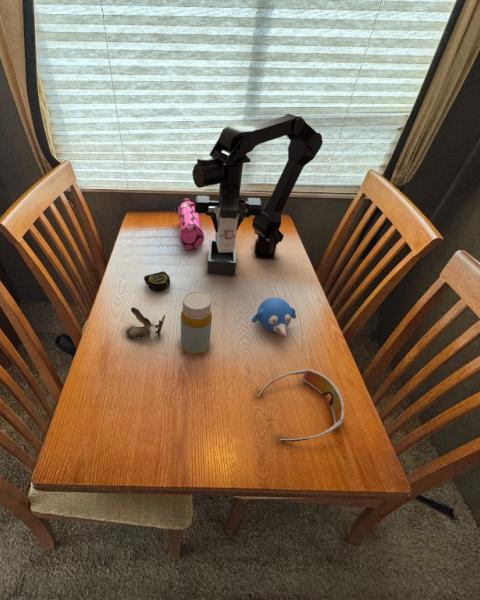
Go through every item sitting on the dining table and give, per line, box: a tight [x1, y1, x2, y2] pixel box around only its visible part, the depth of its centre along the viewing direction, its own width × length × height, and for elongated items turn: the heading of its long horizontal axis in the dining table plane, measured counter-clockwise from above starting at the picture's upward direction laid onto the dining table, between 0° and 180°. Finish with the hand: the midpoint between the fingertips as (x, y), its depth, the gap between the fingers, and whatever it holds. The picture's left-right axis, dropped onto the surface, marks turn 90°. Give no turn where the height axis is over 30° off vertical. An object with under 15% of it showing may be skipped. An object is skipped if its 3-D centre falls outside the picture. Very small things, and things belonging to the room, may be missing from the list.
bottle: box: [180, 290, 213, 356], centre depth 74 cm, size 7×7×15 cm
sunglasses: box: [257, 368, 345, 442], centre depth 66 cm, size 14×15×5 cm
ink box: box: [214, 208, 238, 252], centre depth 96 cm, size 9×5×12 cm, turn 5°
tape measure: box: [143, 271, 171, 293], centre depth 95 cm, size 7×7×4 cm
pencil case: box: [173, 198, 205, 250], centre depth 116 cm, size 21×10×10 cm, turn 7°
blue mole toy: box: [251, 297, 297, 338], centre depth 81 cm, size 12×12×8 cm
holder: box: [206, 239, 237, 277], centre depth 104 cm, size 9×13×5 cm
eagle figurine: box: [125, 306, 166, 339], centre depth 80 cm, size 8×7×9 cm
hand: (225, 232), depth 96 cm, fingers closed on ink box, 5 cm apart
